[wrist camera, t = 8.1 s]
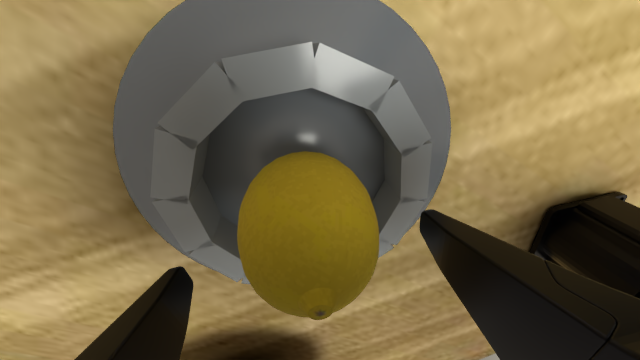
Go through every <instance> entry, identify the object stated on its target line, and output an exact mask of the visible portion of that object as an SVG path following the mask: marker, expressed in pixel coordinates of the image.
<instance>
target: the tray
mask: <svg viewBox="0 0 640 360" xmlns="http://www.w3.org/2000/svg"><path fill="white" fill-rule="evenodd" d="M450 134H451V121H450V107H449V102H448V98H447V93H446V88H445V85H444V82H443V80H442V77H441V74H440V72H439V69H438V66H437V65H436V63H435V61H434V59H433V57H432V56H431V54H430V52H429V50H428V48H427V47H426V45H425V44H424V43H423V41H422V40H421V39H420V38H419V36H418V35H417V34H416V32H415V31H414V30H413V29H412V27H411V26H410V25H409V24H408V23H406V22H405V21H404V20H403V19H402V18H401V17H400V16H399V15H398V14H397V13H396V12H395V11H394V10H392V9H391V8H390V7H388V6H387V5H385V4H384V3H382V2H381V1H379V0H185V1H184V2H182V3H181V4H180V5H178V6H177V7H175V8H174V9H172V10H171V11H170V12H168V13H167V14H166V15H165V16H164V17H163V18H162V19H161V20H160V21H159V22H158V23H157V24H156V25H155V26H154V27H153V28H152V29H151V30H150V31H149V32H148V33H147V35H146V36H145V38H144V39H143V41H142V42H141V43H140V45H139V46H138V48H137V49H136V51H135V52H134V54H133V55H132V57H131V59H130V61H129V63H128V66H127V68H126V70H125V72H124V75H123V77H122V79H121V82H120V86H119V90H118V94H117V98H116V102H115V106H114V121H113V136H114V147H115V155H116V158H117V162H118V166H119V170H120V174H121V177H122V179H123V181H124V183H125V186H126V188H127V190H128V193H129V195H130V197H131V198H132V200H133V202H134V203H135V205H136V207H137V208H138V210H139V211H140V213H141V214H142V215H143V217H144V218H145V219H146V220H147V222H148V223H149V224H150V225H151V227H152V228H153V229H154V230H155V231H156V232H157V233H158V234H159V235H160V236H161V237H162V238H164V239H165V240H166V241H167V242H168V243H169V244H171V245H172V246H173V247H174V248H176V249H177V250H178V251H180V252H181V253H183V254H184V255H186V256H188V257H189V258H191V259H193V260H194V261H196V262H198V263H200V264H202V265H204V266H206V267H208V268H210V269H212V270H215V271H218V272H220V273H222V274H223V275H225V276H227V277H229V278H231V279H233V280H234V281H236V282H238V281H239V280H240V279H242V283H244V284H250V282H249V281H248V279H247V278H246V276H245V273H244V270H243V267H242V263H241V259H240V254H239V250H238V242H237V230H238V219H239V211H240V206H241V203H242V200H243V198H244V196H245V194H246V192H247V189H248V187H249V185H250V183H251V182H252V180H253V179H254V178H255V177H256V176H257V174H258V173H259V172H260V171H261V170H262V169H263V168H264V167H265V166H266V165H268V164H269V163H271V162H272V161H274V160H275V159H276V158H279V157H282V156H284V155H287V154H290V153H294V152H303V151H308V152H317V153H323V154H325V155H328V156H330V157H333V158H335V159H337V160H339V161H340V162H341V163H343V164H344V165H345V166H347V167H348V168H349V169H351V170H352V171H353V172H354V174H355V175H356V176H357V177H358V179H359V180H360V181H361V182H362V184H363V185H364V187H365V188H366V190H367V192H368V194H369V196H370V199H371V202H372V204H373V207H374V210H375V213H376V217H377V221H378V227H379V256H378V258H379V257H380V256H382V255H384V254H385V253H387V252H388V251H390V250H391V249H393V248H394V247H393V246H392V245H393V244H395V245H397V244H398V242H399V241H400V240H401V238H402V237H403V235H404V234H405V233H406V232H407V231H408V230H409V229H410V228H411V227H412V226H413V225H414V224H415V222H416V221H417V220H418V219H419V217H420V216H421V212H423V211H425V209H426V208H427V206H428V204H429V203H430V201H431V199H432V198H433V196H434V194H435V192H436V190H437V187H438V185H439V183H440V181H441V178H442V175H443V172H444V169H445V166H446V162H447V157H448V152H449V147H450Z"/></svg>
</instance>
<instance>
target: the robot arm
mask: <svg viewBox="0 0 640 360" xmlns="http://www.w3.org/2000/svg"><path fill="white" fill-rule="evenodd" d="M626 198H627V195H625V194H623V193H620V192H616V193H612V194H607V195H603V196H599V197H595V198H590V199H586V200H582V201H577V202H573V203H569V204H564V205H560V206H556V207H553V208H551V209H549V210H548V212H547V213H546V216H545V218H544V220H543V222H542V225H541V227H540V229H539V232H538V234H537V236H536V239H535V241H534V243H533V246H532V248H531V250H530V253H529V252H527V251H525V250H522V249H520V248H518V247H516V246H514V245H511V244H509V243H507V242H505V241H502V240H500V239H498V238H496V237H493V236H491V235H489V234H487V233H485V232H482V231H480V230H478V229H476V228H473V227H471V226H469V225H467V224H464V223H462V222H460V221H458V220H456V219H453V218H451V217H449V216H447V215H444V214H442V213H440V212H438V211H436V210H433V209H430V210H426V211H423V212H421V217H420V232H421V234H422V236H423V238H424V240H425V242H426V244H427V246H428V248H429V250H430V251H431V253H432V255H433V257H434V259H435V261H436V263H437V265H438V266H439V268H440V270H441V272H442V273H443V275H444V276H445V278H446V279H447V281H448V282H449V284H450V285H451V287H452V288H453V290H454V291H455V293H456V294H457V296H458V297H459V299H460V300H461V302H462V303H463V305H464V306H465V308H466V309H467V311H468V312H469V314H470V315H471V317H472V318H473V320H474V321H475V323H476V324H477V326H478V327H479V329H480V330H481V332H482V333H483V335H484V336H485V338H486V339H487V341H488V342H489V344H490V345H491V347H492V348H493V350H494V351H495V353H496V354H497V356H498V357H499V358H500V360H640V208H638V207H636V206H634V205H632V204H630V203H627V202H625V200H626ZM192 292H193V281H192V279H191V277H190V276H189V275H188V273H187V272H186V270H185V269H184V268H183V267H175V268H171V269H169V270H168V271H166V272H165V273H164V274H163V275H162V276H161V277H160V278H159V279H158V280H157V281H156V282H155V283H154V284H153V285H152V286H151V287H150V288H149V289H148V290H147V291H146V292H145V293H144V294H142V295H141V296H140V297H139V298H138V299H137V300H136V301H135V302H134V303H133V304H132V305H131V306H130V307H129V308H128V309H127V310H126V311H125V312H124V313H123V314H122V315H121V316H119V317H118V318H117V319H116V320H115V321H114V322H113V323H112V324H111V325H110V326H109V327H108V328H107V329H106V330H105V331H104V332H103V333H102V334H101V335H100V336H99V337H98V338H96V339H95V340H94V341H93V342H92V343H91V344H90V345H89V346H88V347H87V348H86V349H85V350H84V351H83V352H82V353H81V354H80V355H79V356H78V357H77V358H76V359H75V360H179V359H180V355H181V351H182V347H183V343H184V339H185V335H186V331H187V325H188V319H189V312H190V306H191V299H192Z"/></svg>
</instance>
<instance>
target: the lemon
mask: <svg viewBox="0 0 640 360" xmlns="http://www.w3.org/2000/svg"><path fill="white" fill-rule="evenodd" d="M237 242H238V250H239V254H240V259H241V263H242V267H243V270H244V273H245V276H246V278H247V279H248V281H249V282H250V284H251V285H252V287H253V288H254V290H255V291H256V293H257V294H258V295H259V296H260V297H261V298H262V299H264V300H265V301H266V302H267V303H269V304H270V305H271V306H273V307H275V308H276V309H278V310H280V311H283V312H285V313H287V314H291V315H295V316H299V317H310V318H311V319H314V320H322V319H325V318H327V317H329V316H330V315H331V314H332V313H334V312H336V311H338V310H340V309H342V308H343V307H345V306H346V305H348V304H349V303H351V302H352V301H353V300H354V299H355V298H356V297H357V296H358V295H359V294H360V293H361V292H362V291H363V290H364V288H365V287H366V285H367V284H368V282H369V281H370V279H371V277H372V275H373V273H374V270H375V267H376V263H377V260H378V256H379V227H378V221H377V217H376V213H375V210H374V207H373V204H372V202H371V199H370V196H369V194H368V192H367V190H366V188H365V187H364V185H363V184H362V182H361V181H360V180H359V179H358V177H357V176H356V175H355V174H354V172H353V171H352V170H351V169H349V168H348V167H347V166H345V165H344V164H343V163H341V162H340V161H339V160H337V159H335V158H333V157H330V156H328V155H325V154H323V153H317V152H308V151H303V152H294V153H290V154H287V155H284V156H282V157H279V158H276V159H275V160H274V161H272V162H271V163H269V164H268V165H266V166H265V167H264V168H263V169H262V170H261V171H260V172H259V173H258V174H257V176H256V177H255V178H254V179H253V180H252V182H251V183H250V185H249V187H248V189H247V192H246V194H245V196H244V198H243V200H242V203H241V206H240V211H239V219H238V230H237Z"/></svg>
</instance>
